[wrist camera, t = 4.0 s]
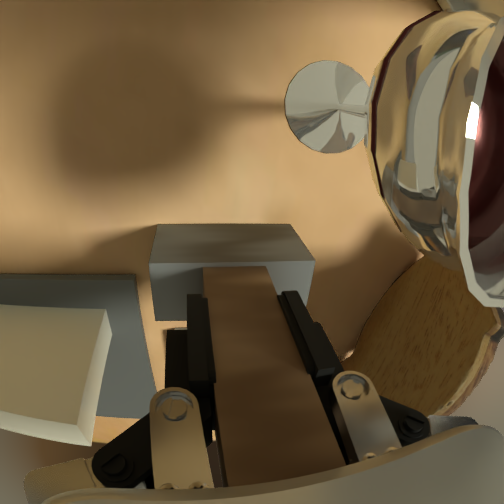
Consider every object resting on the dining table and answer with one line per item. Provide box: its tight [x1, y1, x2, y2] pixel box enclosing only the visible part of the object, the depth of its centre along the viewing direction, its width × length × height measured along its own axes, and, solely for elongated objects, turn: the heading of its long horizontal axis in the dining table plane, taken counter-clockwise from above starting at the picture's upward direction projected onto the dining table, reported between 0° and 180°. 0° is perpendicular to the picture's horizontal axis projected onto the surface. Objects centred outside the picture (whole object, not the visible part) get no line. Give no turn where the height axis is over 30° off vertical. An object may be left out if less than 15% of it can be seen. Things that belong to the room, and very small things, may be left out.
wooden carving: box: [341, 255, 504, 417], centre depth 17 cm, size 16×5×10 cm, turn 158°
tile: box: [0, 304, 112, 446], centre depth 13 cm, size 10×2×8 cm, turn 86°
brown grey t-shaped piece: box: [149, 224, 346, 487], centre depth 10 cm, size 7×3×15 cm, turn 86°
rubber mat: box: [0, 274, 157, 419], centre depth 18 cm, size 14×14×1 cm
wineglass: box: [285, 8, 504, 307], centre depth 9 cm, size 7×7×12 cm
